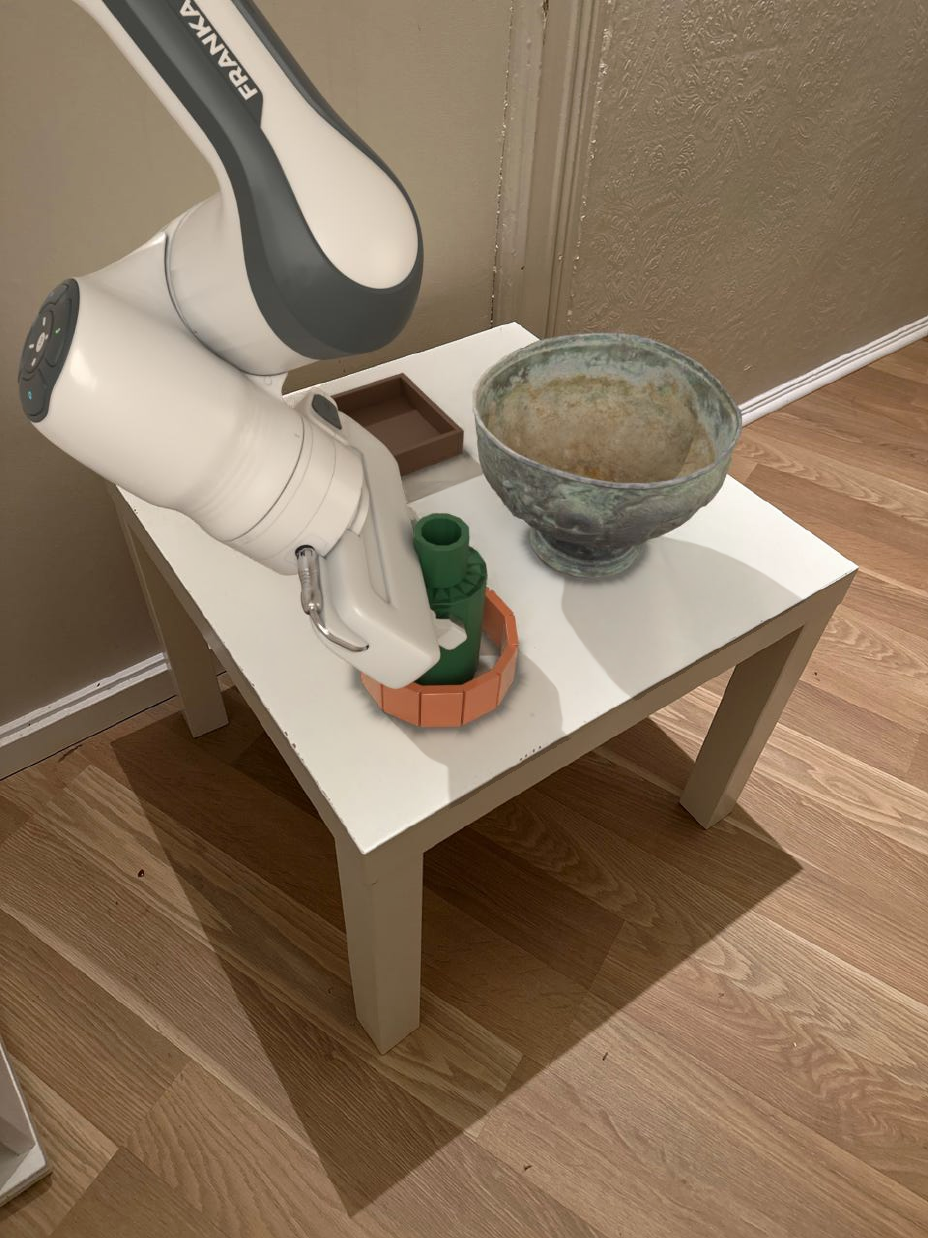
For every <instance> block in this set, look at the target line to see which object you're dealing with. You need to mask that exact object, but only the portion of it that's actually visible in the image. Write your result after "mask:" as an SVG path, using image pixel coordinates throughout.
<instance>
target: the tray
mask: <svg viewBox="0 0 928 1238" xmlns="http://www.w3.org/2000/svg"><path fill="white" fill-rule="evenodd" d="M329 396H330V397H331V398H332V399H333V400H334V401H335V402H336V404H337V408H338V411H340V412H342V413H344V414H346V415H347V416H349V417H350V418H352V419H353V420H354V421H356V422H357V423H358V424H360V425H361V426H362V427H363V428H365V429H366V430H367V431H368V432H370V433H371V434H372V435H373V436H374V437H376V438H377V439H378V440H379V441H380V442H382V443H383V444H384V445H385V446H386V447H387V449H388V450H389V451H390V453H391V454H392V455H393V457H394V458H395V460H396V461H397V463H398V466H399V471H400V476H401V477H404V476H406V475H409V474H412V473H414V472H417V471H420V470H422V469H425V468H428V467H430V466H433V465H435V464H438V463H442V462H444V461H447V460H449V459H452V458H454V457H458V456H460V455H463V454H464V439H465V438H464V437H465V430H464V429H463V428H462V427H461V426H460V425H458V424H457V422H455V421H454V419H452V418H451V417H450V416H449V415H448V413H446V412H445V411H444V410H443V409H442V408H441V407H440V406H439V405H438V404H436V402H434V401H433V400H432V399H431V398H430V397H429V396H428V395H427V394H426V393H425V392H424V391H423V389H421V388H420V387H419V386H418V385H417V384H416V383H415V382H414V381H412V380H411V379H410V378H409V377H408V376H407V375H406V374H405V373H404V372H400V373H397V374H394V375H391V376H388V377H384V378H381V379H379V380H375V381H373V382H372V381H371V382H369V383H366V384H364V385H360V386H356V387H354V388H350V389H347V390H344V391H342V392H338V393H335V394H332V395H329Z"/></svg>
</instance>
